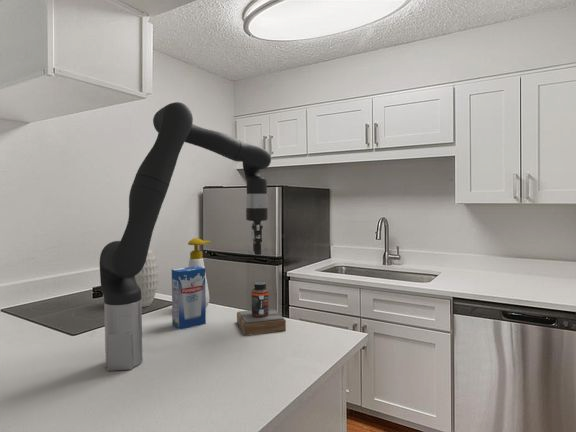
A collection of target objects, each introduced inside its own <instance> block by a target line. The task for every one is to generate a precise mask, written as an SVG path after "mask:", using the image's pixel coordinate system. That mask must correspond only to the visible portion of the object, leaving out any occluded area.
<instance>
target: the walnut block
mask: <svg viewBox="0 0 576 432" xmlns="http://www.w3.org/2000/svg"><path fill="white" fill-rule="evenodd" d="M286 322H287V321H286V319H285V318H284V317H283V316H282V315H281V314H280V312H278V311H277V310H276V309H275V308H271V307H270V308H269V312H268V315H267V316H265V317H255V316H253V315H252V309H251V310H243V311H238V312H236V323H237V325H238V326H239V328H240V329H242V330H241V331H242V333H243V332H244V333H243V335H244V336H251V335H250V334H253V335H261V334H269V333H276V332H285V331H286V329H287V327H286V326H287V325H286V324H287V323H286Z"/></svg>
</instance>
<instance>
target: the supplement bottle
mask: <svg viewBox="0 0 576 432" xmlns="http://www.w3.org/2000/svg"><path fill="white" fill-rule="evenodd" d="M253 287H254V288H252V290H251V310H252V315H253V316H255V317H265V316H267V315H268V312H269V309H270V308H269V305H270V303H269V301H270V300H269V298H270V296H269V295H270V294H269V289H268V288H267V284H266V282H264V281H258V282H255V283H254V286H253Z"/></svg>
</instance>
